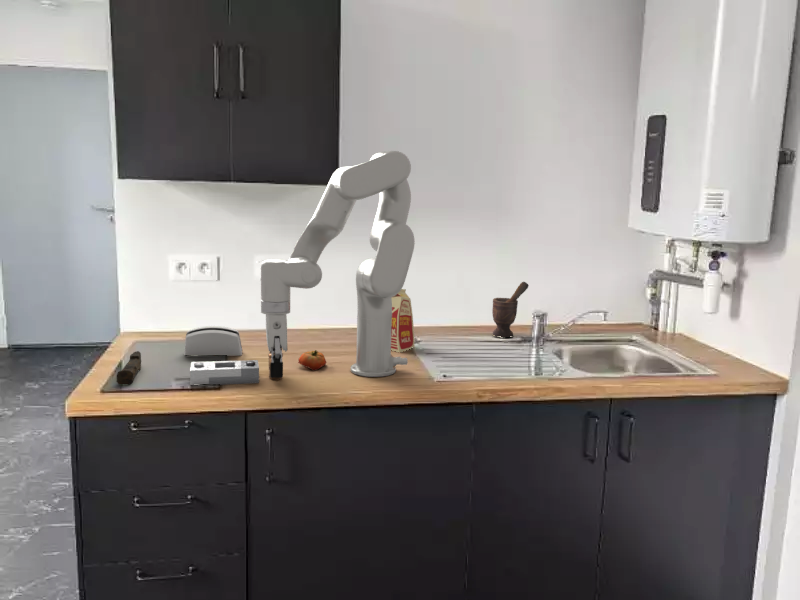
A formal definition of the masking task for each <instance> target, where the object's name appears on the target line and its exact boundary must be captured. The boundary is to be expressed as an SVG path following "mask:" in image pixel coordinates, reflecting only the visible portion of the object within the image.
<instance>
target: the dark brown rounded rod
mask: <svg viewBox="0 0 800 600" xmlns="http://www.w3.org/2000/svg"><path fill="white" fill-rule="evenodd" d="M141 369H142V353H141V352H140V351H139V350H137V351H133V353H131V354H130V356H129V360H128V362H127V363H126V364H125V366H124V367H123V368H122V370H120V371H118V372H117V374H116V383H118V385H119V384H128V385H131V384H132V383H133V381H134V379H135V378H134V377H135V376H136V375H137V373H138V372H139V371H141ZM138 370H139V371H138Z"/></svg>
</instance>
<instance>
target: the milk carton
mask: <svg viewBox="0 0 800 600" xmlns="http://www.w3.org/2000/svg"><path fill="white" fill-rule="evenodd" d="M391 298H392V328H391V350H392V351H391V352H394V351H396V352H395V353H398V352H401V353H403V351H404V352H407V351H410V350H412V349H411V348H412V347H414V348H415V329H414V315H413V309H412V308H413V307H412V299H411V297H410V296H409V295H408V294H407V293H406V289H405V288H402V289H401V290H400V292H399V293H398V294H397V295H395V296H394V297H391ZM409 349H410V350H409ZM406 350H407V351H406Z"/></svg>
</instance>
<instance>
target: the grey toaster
mask: <svg viewBox="0 0 800 600" xmlns="http://www.w3.org/2000/svg"><path fill="white" fill-rule="evenodd" d="M240 336H241V335H240V331H239V330H238V329H235V328H232V327H227V326H222V325H208V326H200V327H196V328H192V329H189V330H187V332H186V333H185V341H184V352H183V356H184V355H227V357H228V356H237V357H239V356H240V357H241V356H242V355H243V346H242V341H241V337H240Z"/></svg>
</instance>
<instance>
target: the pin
mask: <svg viewBox="0 0 800 600" xmlns="http://www.w3.org/2000/svg"><path fill="white" fill-rule="evenodd" d="M274 354H275V353H273V356H274ZM267 355H268V370H269V373H268V375H269V376H268V378H269V380H271V381H272V380H273V381H280V380H282V379H283V377H278V378H271V377H270V362H271V353H270V352H269V353H268V354H267ZM283 357H284V353H283V352H282V358H283ZM279 379H280V380H279Z"/></svg>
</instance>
